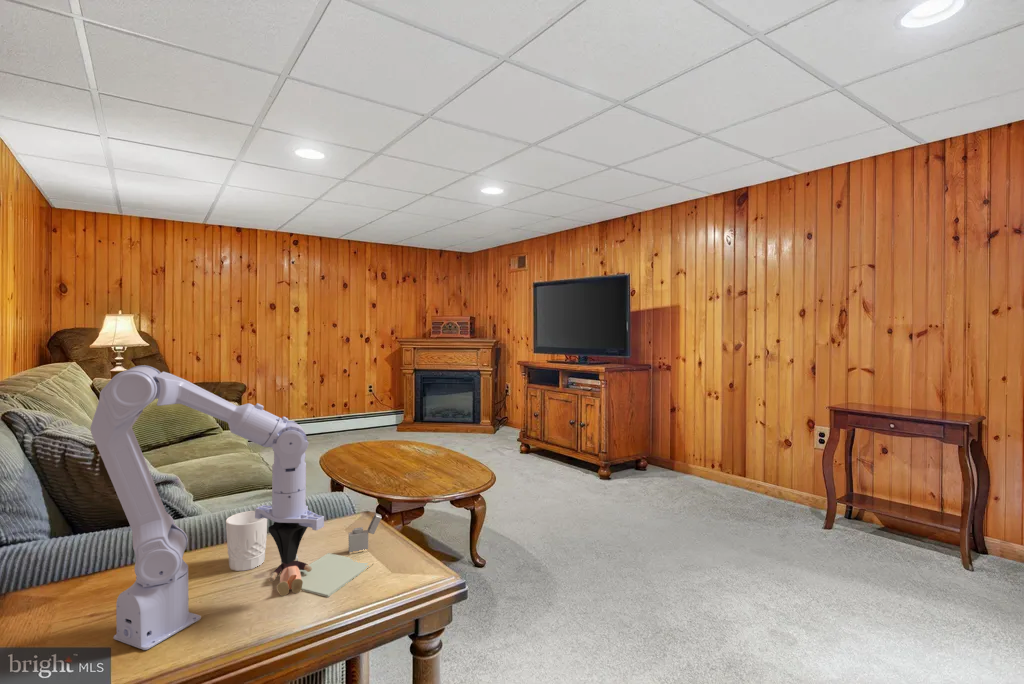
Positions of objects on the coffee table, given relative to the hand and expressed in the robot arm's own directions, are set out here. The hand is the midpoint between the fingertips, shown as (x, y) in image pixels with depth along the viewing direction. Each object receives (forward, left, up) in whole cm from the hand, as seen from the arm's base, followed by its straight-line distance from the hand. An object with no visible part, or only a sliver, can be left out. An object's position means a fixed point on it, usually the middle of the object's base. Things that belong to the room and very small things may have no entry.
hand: (288, 561), depth 94 cm
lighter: (+23, 0, -8) cm, 24 cm away
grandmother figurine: (+2, +1, -6) cm, 6 cm away
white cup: (+8, +19, -8) cm, 22 cm away
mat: (+11, 0, -7) cm, 13 cm away
